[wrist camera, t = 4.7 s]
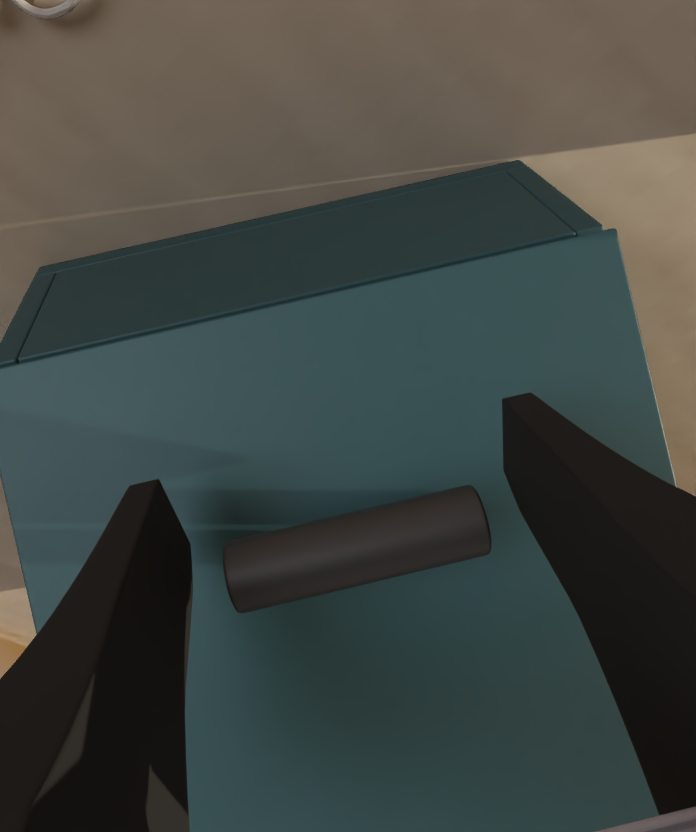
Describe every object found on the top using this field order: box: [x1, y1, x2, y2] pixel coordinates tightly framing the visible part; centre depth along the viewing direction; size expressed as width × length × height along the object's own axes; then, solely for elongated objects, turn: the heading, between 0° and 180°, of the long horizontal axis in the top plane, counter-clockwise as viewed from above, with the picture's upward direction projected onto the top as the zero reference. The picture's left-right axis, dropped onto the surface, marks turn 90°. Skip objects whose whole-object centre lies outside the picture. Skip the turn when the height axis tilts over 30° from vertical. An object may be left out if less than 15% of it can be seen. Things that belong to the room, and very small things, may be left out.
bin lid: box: [0, 228, 677, 832], centre depth 14 cm, size 15×15×4 cm
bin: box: [0, 160, 603, 368], centre depth 22 cm, size 14×15×6 cm
